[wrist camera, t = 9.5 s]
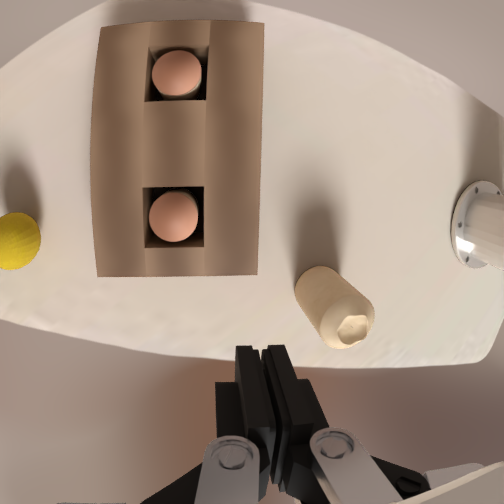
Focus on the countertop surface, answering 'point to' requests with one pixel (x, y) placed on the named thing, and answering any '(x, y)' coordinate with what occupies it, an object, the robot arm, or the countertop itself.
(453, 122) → the countertop surface
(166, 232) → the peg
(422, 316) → the countertop surface
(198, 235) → the block
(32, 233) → the lemon
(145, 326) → the countertop surface
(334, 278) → the candle
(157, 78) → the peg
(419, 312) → the countertop surface
